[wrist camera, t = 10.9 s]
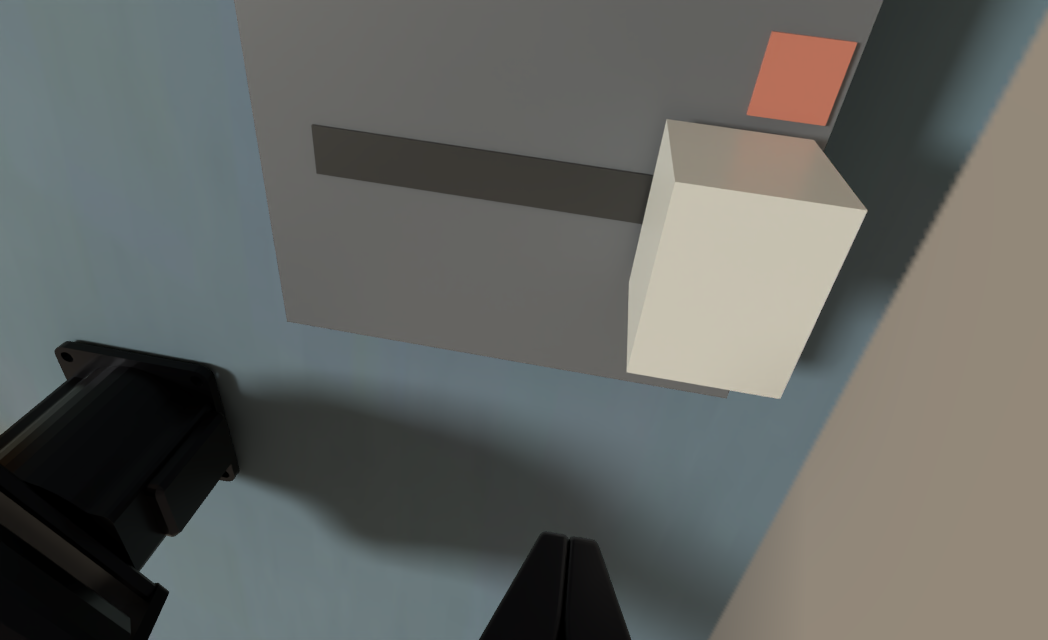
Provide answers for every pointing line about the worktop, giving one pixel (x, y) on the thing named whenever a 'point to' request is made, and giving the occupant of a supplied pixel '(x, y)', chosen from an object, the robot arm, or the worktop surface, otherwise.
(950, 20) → the worktop surface
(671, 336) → the cream matte cube
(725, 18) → the grey slider switch panel
